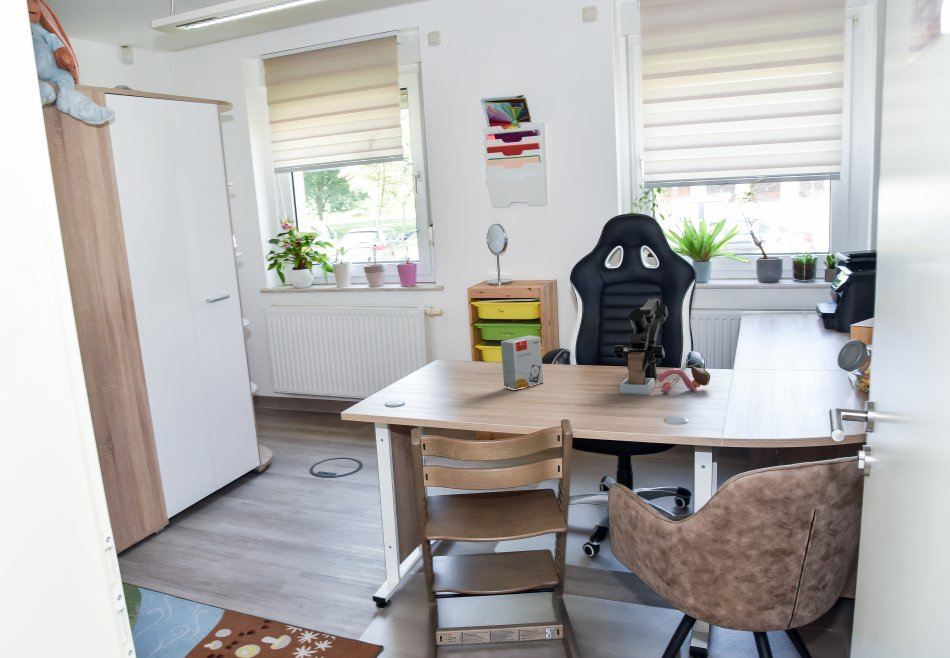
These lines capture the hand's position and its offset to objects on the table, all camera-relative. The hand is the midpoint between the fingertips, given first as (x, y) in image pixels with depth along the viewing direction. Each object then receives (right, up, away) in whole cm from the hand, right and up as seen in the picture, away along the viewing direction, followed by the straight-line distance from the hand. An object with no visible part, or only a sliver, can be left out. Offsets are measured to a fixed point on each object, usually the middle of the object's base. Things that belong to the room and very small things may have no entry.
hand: (635, 371), depth 259 cm
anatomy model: (+17, -7, -4) cm, 19 cm away
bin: (+1, -8, +2) cm, 8 cm away
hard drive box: (-40, -8, +25) cm, 48 cm away
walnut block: (+1, -6, +2) cm, 7 cm away
